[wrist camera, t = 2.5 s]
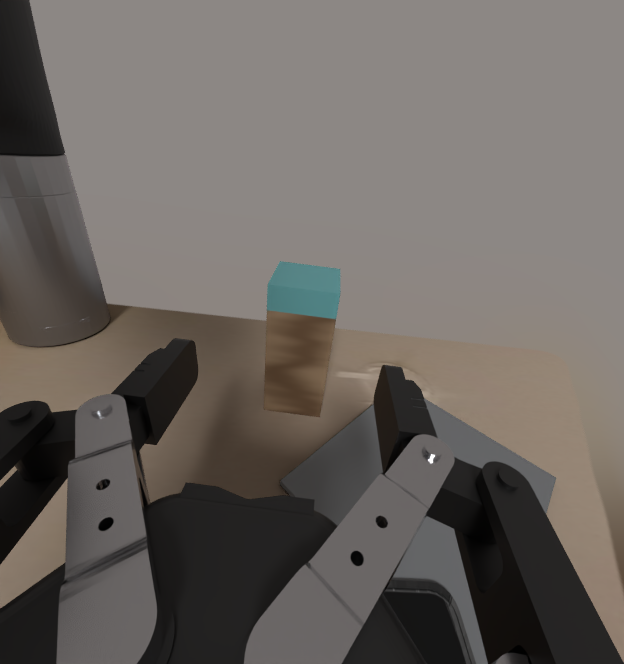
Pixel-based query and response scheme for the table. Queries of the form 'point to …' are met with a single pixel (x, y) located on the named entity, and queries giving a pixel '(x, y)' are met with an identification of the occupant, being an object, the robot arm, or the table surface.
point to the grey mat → (433, 537)
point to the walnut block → (299, 336)
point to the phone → (431, 621)
